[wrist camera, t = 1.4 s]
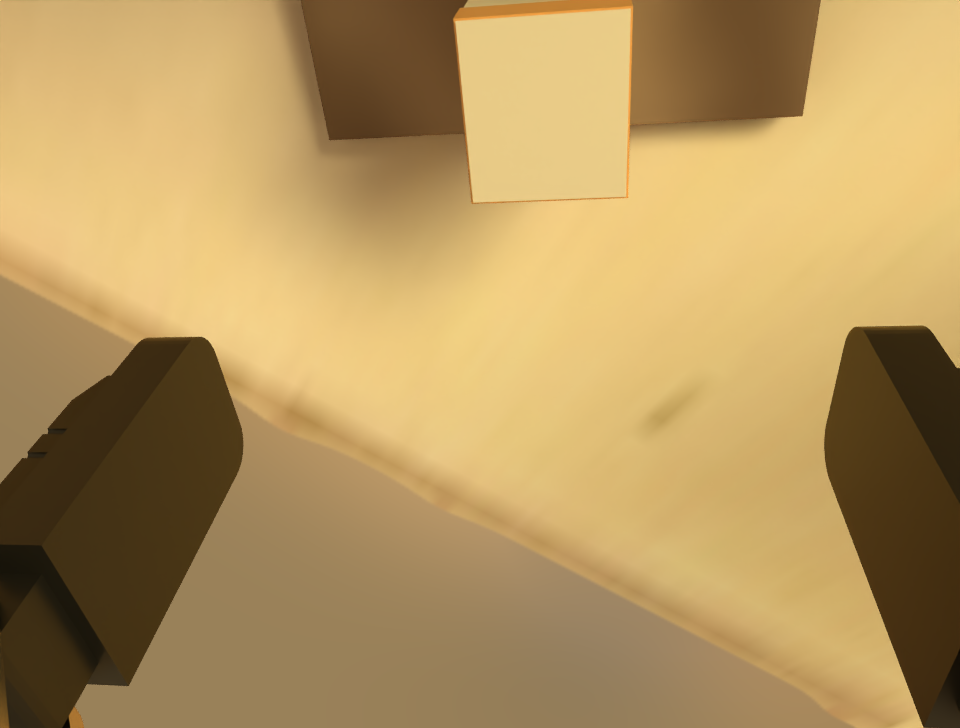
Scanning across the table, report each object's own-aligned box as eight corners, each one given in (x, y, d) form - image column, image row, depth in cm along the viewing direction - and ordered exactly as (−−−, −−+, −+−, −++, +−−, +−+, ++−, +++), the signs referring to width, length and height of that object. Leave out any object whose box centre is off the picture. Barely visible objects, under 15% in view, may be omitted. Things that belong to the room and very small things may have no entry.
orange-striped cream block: (620, -42, 23) (632, 5, 17) (617, 113, 25) (627, 198, 20) (483, -31, 23) (452, 19, 18) (495, 120, 26) (471, 204, 20)
